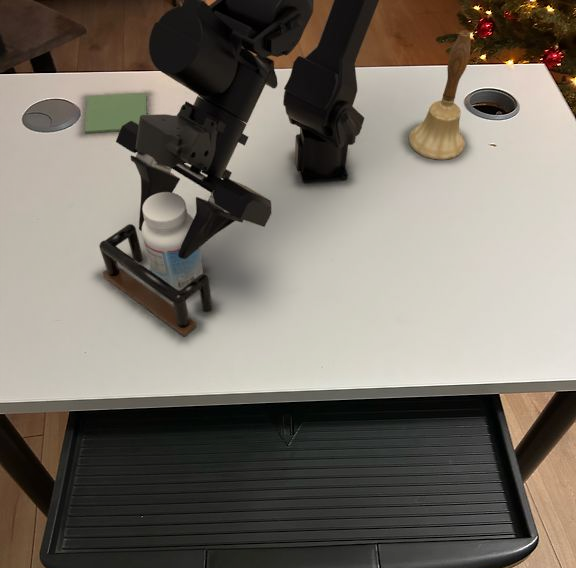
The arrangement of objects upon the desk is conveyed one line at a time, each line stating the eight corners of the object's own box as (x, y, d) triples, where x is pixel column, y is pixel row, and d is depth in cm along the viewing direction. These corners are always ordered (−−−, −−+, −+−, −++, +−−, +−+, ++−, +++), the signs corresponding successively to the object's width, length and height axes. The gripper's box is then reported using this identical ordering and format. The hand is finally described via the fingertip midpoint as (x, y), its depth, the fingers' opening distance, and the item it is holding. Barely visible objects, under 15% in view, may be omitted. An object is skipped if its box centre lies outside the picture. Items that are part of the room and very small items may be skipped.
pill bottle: (204, 259, 76) (194, 186, 66) (202, 296, 73) (191, 225, 63) (155, 260, 76) (138, 187, 66) (151, 297, 72) (132, 226, 63)
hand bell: (475, 152, 89) (511, 41, 76) (425, 165, 87) (453, 54, 74) (446, 120, 93) (475, 10, 80) (398, 132, 91) (420, 21, 78)
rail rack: (136, 253, 76) (127, 218, 72) (216, 309, 72) (213, 276, 67) (103, 277, 74) (91, 242, 69) (184, 337, 69) (177, 304, 65)
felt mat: (146, 94, 95) (146, 92, 95) (146, 129, 90) (146, 127, 90) (88, 98, 94) (87, 95, 94) (85, 133, 89) (84, 131, 89)
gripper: (108, 44, 59) (52, 192, 64) (249, 121, 53) (175, 279, 58) (177, 86, 69) (124, 211, 74) (303, 155, 63) (236, 287, 68)
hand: (161, 244), depth 68 cm, fingers closed on pill bottle, 6 cm apart
